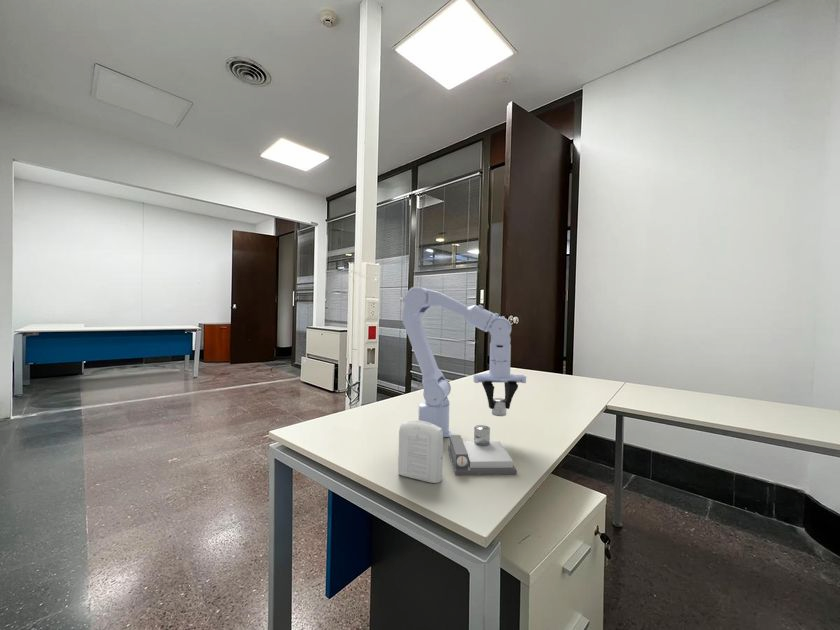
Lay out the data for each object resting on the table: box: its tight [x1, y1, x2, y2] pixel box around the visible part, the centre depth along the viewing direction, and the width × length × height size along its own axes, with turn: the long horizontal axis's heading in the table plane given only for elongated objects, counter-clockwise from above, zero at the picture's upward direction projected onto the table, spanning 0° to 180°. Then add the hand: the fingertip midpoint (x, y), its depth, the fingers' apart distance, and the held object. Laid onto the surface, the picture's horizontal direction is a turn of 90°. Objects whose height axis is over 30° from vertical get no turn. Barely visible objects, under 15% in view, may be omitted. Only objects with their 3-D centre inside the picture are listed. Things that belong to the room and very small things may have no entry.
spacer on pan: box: [473, 424, 491, 446], centre depth 85 cm, size 4×4×4 cm
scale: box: [447, 434, 518, 476], centre depth 81 cm, size 14×13×4 cm
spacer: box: [491, 397, 507, 417], centre depth 93 cm, size 4×4×4 cm
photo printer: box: [397, 419, 444, 484], centre depth 73 cm, size 10×4×12 cm, turn 69°
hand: (498, 407), depth 93 cm, fingers closed on spacer, 4 cm apart
